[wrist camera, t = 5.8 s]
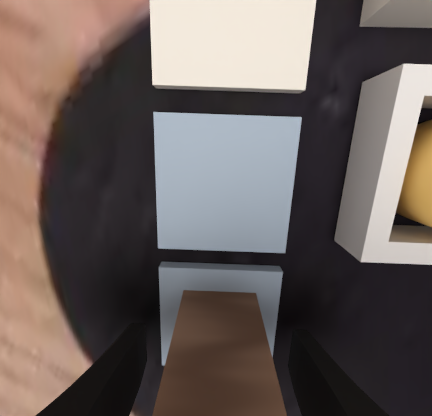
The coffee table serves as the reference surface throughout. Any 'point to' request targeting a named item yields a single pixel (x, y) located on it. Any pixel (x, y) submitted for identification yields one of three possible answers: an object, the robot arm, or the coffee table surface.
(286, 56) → the tile
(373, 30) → the coffee table surface
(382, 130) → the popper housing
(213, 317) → the brown rectangular block
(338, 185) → the coffee table surface
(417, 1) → the die
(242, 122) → the tile
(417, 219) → the dome button
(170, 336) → the tile
